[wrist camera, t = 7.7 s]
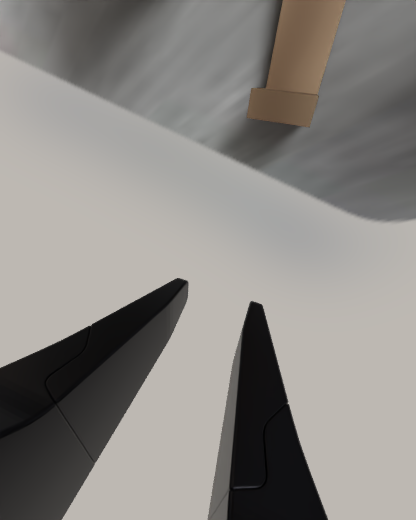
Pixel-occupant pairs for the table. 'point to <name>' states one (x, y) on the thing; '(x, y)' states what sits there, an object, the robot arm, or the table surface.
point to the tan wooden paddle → (297, 62)
